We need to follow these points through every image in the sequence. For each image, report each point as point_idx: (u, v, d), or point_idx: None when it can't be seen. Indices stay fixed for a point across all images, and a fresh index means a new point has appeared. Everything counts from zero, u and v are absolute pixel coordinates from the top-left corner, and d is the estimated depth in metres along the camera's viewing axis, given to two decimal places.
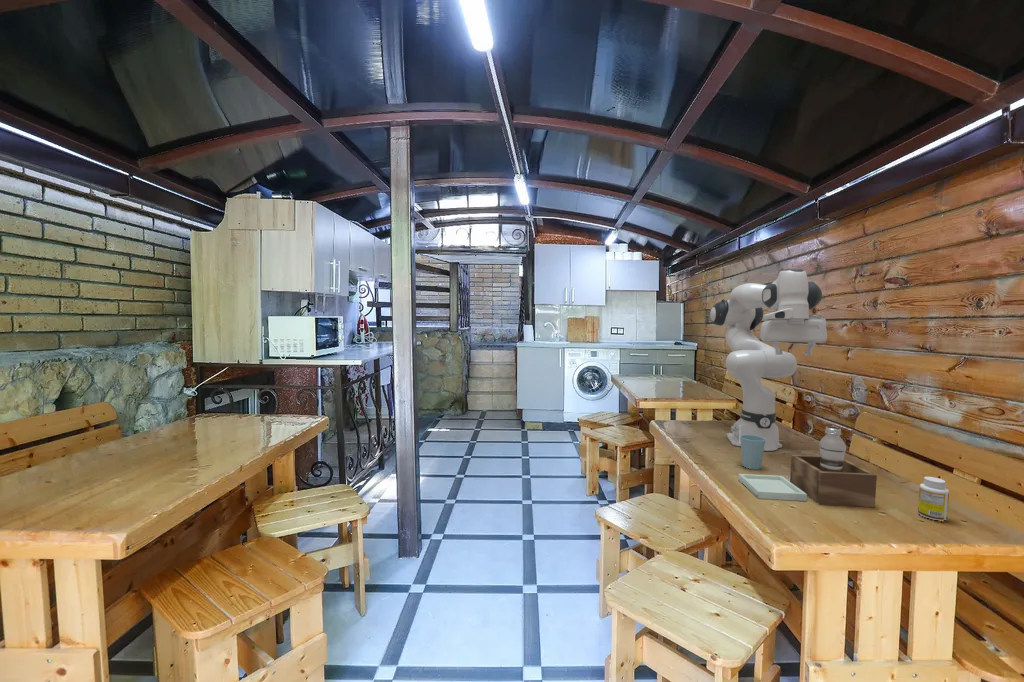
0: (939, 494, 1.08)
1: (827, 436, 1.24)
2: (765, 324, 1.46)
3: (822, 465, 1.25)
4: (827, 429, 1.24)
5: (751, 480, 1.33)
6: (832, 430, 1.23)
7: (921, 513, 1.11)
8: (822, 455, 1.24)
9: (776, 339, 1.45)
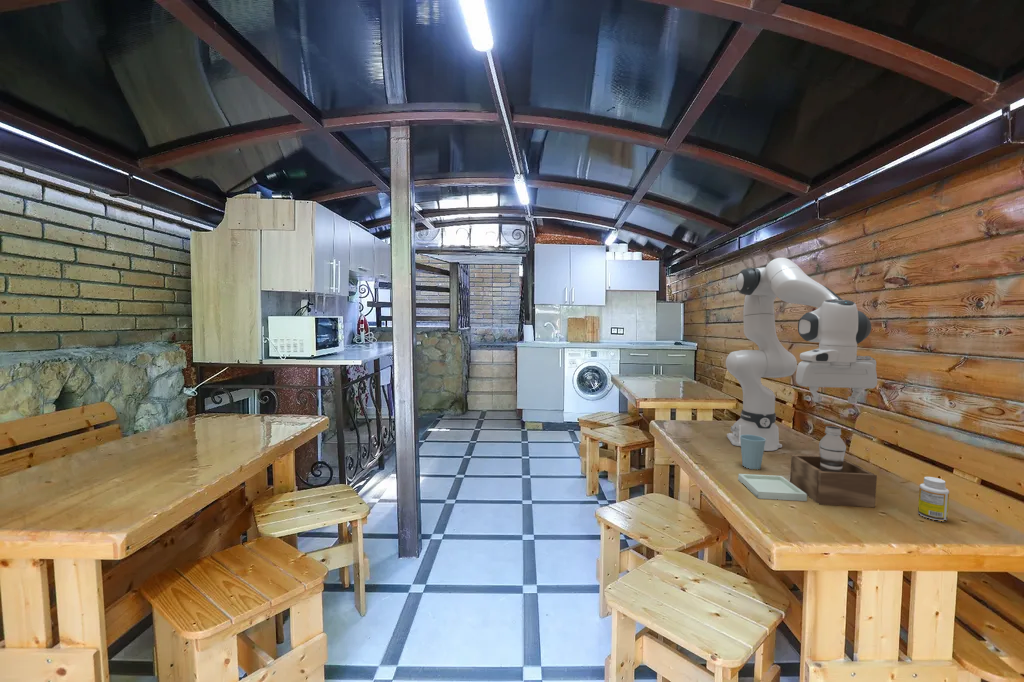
0: (939, 494, 1.08)
1: (827, 436, 1.24)
2: (803, 366, 1.23)
3: (822, 465, 1.25)
4: (827, 429, 1.24)
5: (751, 480, 1.33)
6: (832, 430, 1.23)
7: (921, 513, 1.11)
8: (822, 455, 1.24)
9: (815, 385, 1.22)
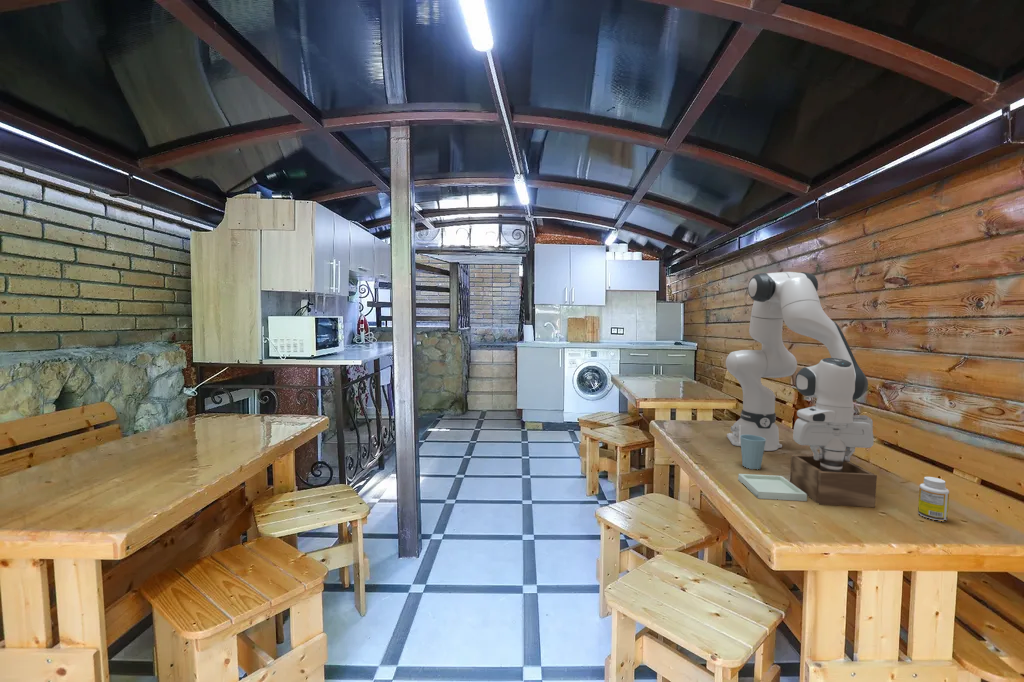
0: (939, 494, 1.08)
1: None
2: (800, 425, 1.24)
3: (822, 465, 1.25)
4: None
5: (751, 480, 1.33)
6: (832, 430, 1.23)
7: (921, 513, 1.11)
8: None
9: (812, 444, 1.23)
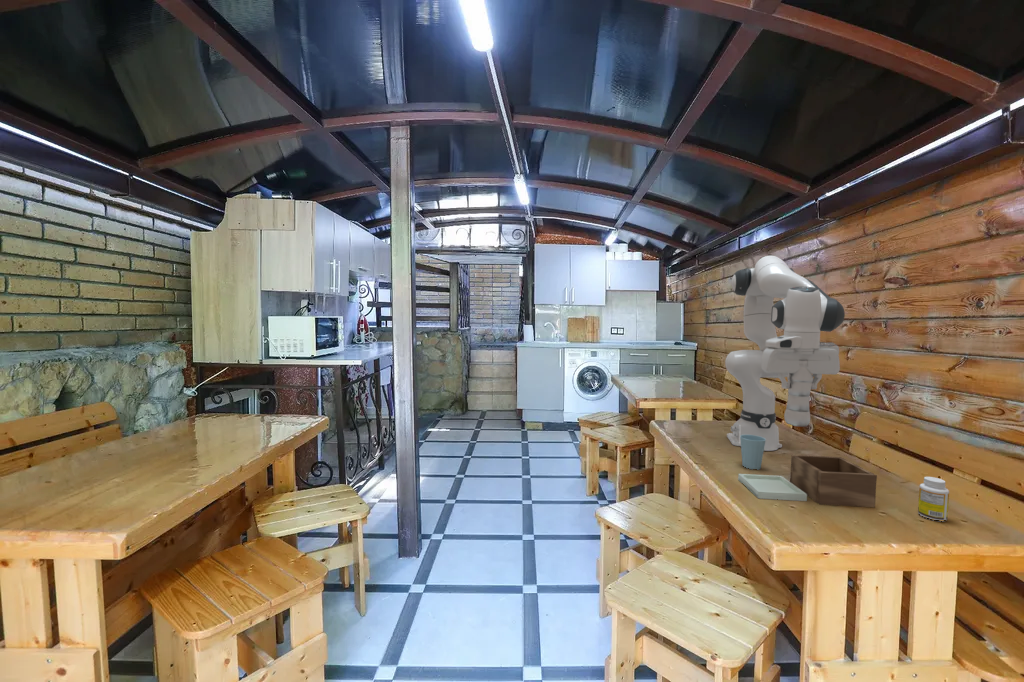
0: (939, 494, 1.08)
1: None
2: (768, 353, 1.24)
3: (789, 397, 1.25)
4: None
5: (751, 480, 1.33)
6: (800, 361, 1.23)
7: (921, 513, 1.11)
8: (790, 387, 1.25)
9: (780, 371, 1.24)
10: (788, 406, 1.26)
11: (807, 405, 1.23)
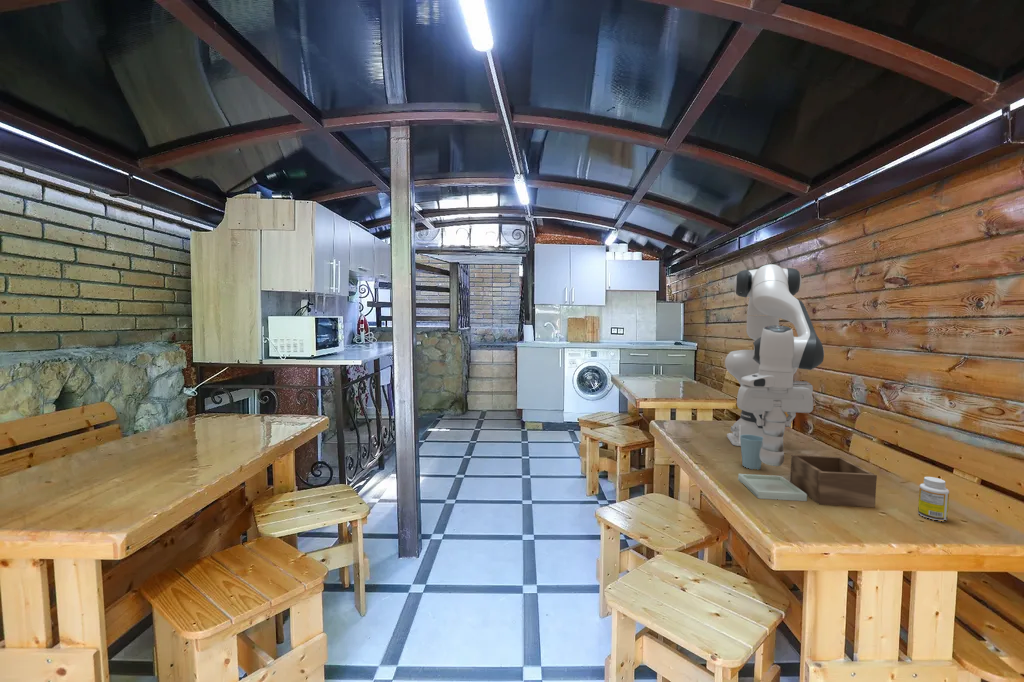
0: (939, 494, 1.08)
1: None
2: (742, 391, 1.26)
3: (764, 436, 1.27)
4: None
5: (751, 480, 1.33)
6: (773, 401, 1.25)
7: (921, 513, 1.11)
8: (764, 426, 1.27)
9: (754, 409, 1.26)
10: (763, 445, 1.27)
11: (781, 445, 1.25)
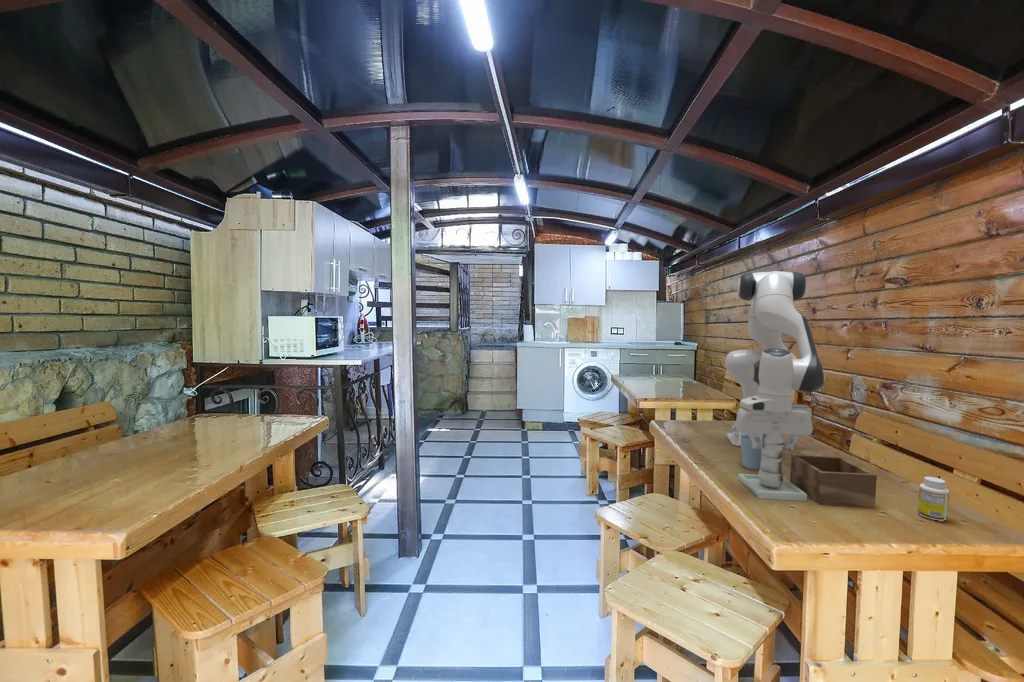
0: (939, 494, 1.08)
1: None
2: (741, 414, 1.27)
3: (762, 458, 1.28)
4: None
5: (751, 480, 1.33)
6: None
7: (921, 513, 1.11)
8: (762, 448, 1.27)
9: (753, 432, 1.26)
10: (761, 467, 1.28)
11: (779, 467, 1.25)
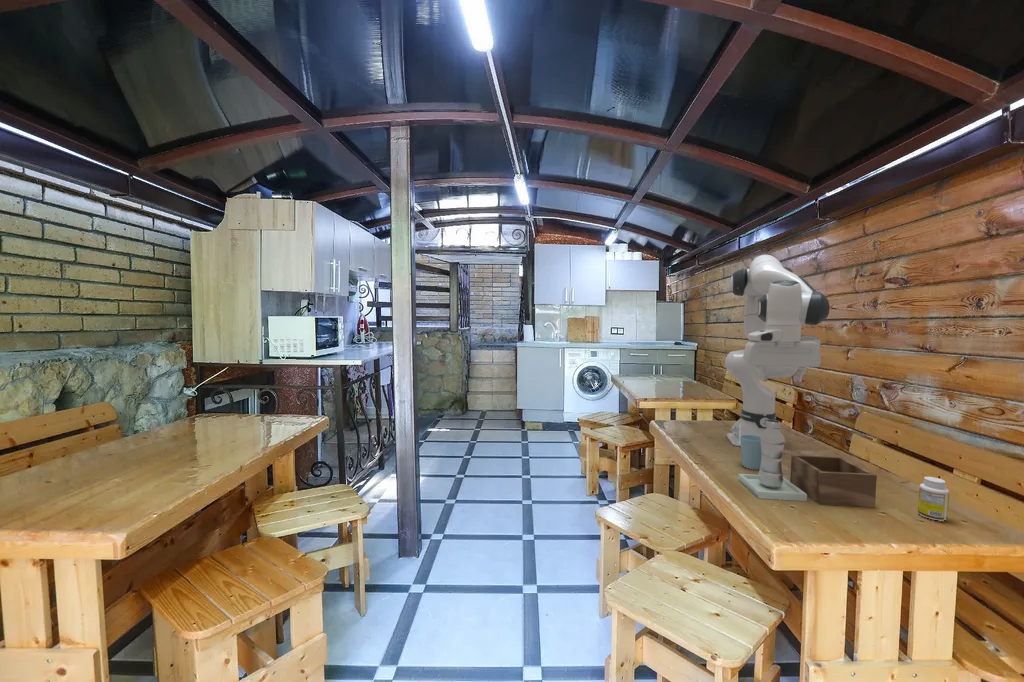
0: (939, 494, 1.08)
1: (767, 429, 1.27)
2: (749, 346, 1.26)
3: (762, 458, 1.28)
4: (767, 422, 1.27)
5: (751, 480, 1.33)
6: (771, 423, 1.26)
7: (921, 513, 1.11)
8: (762, 448, 1.27)
9: (761, 364, 1.25)
10: (761, 467, 1.28)
11: (779, 467, 1.25)
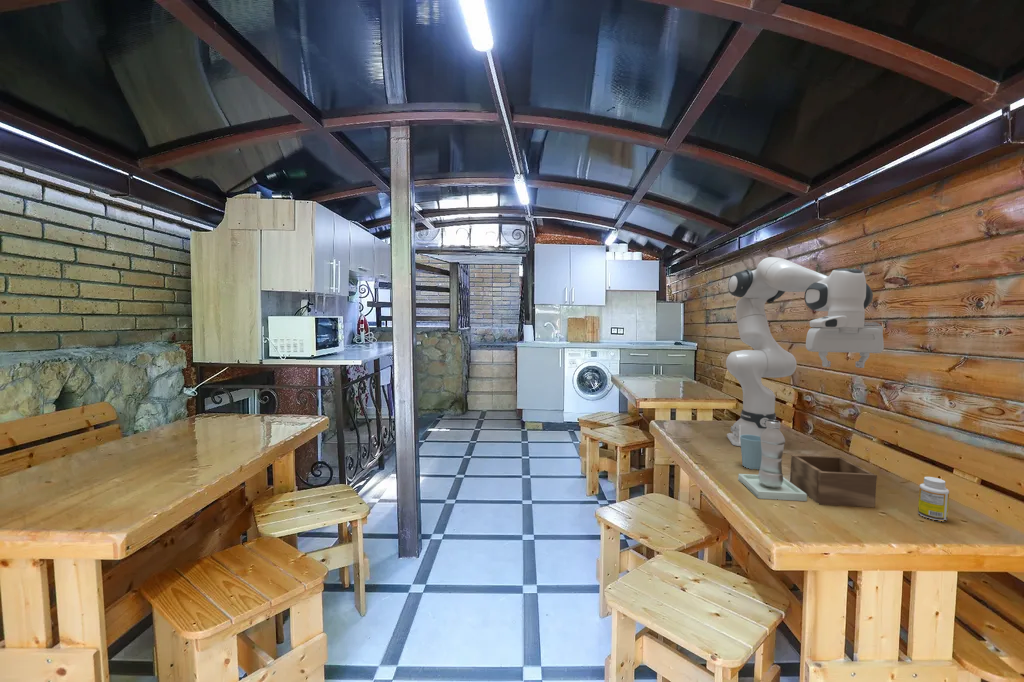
0: (939, 494, 1.08)
1: (767, 429, 1.27)
2: (813, 333, 1.29)
3: (762, 457, 1.28)
4: (767, 422, 1.27)
5: (751, 480, 1.33)
6: (771, 423, 1.26)
7: (921, 513, 1.11)
8: (762, 448, 1.27)
9: (825, 350, 1.28)
10: (761, 467, 1.28)
11: (779, 467, 1.25)
